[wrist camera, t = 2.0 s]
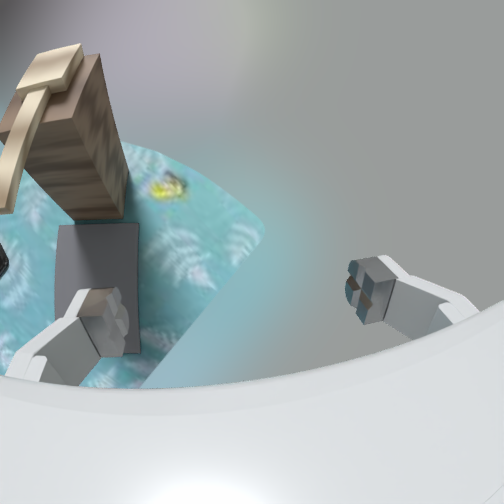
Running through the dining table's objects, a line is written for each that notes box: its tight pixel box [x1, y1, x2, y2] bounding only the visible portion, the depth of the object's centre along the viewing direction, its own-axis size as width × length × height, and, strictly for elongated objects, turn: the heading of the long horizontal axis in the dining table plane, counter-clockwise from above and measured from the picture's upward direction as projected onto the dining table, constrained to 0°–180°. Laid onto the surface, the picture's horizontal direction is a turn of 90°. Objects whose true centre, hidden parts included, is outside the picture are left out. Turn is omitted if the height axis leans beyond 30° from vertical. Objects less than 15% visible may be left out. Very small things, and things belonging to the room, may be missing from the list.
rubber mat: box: [55, 223, 141, 353], centre depth 41 cm, size 22×16×1 cm
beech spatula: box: [0, 44, 84, 215], centre depth 16 cm, size 19×6×2 cm, turn 4°
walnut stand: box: [0, 54, 129, 221], centre depth 31 cm, size 10×10×28 cm
